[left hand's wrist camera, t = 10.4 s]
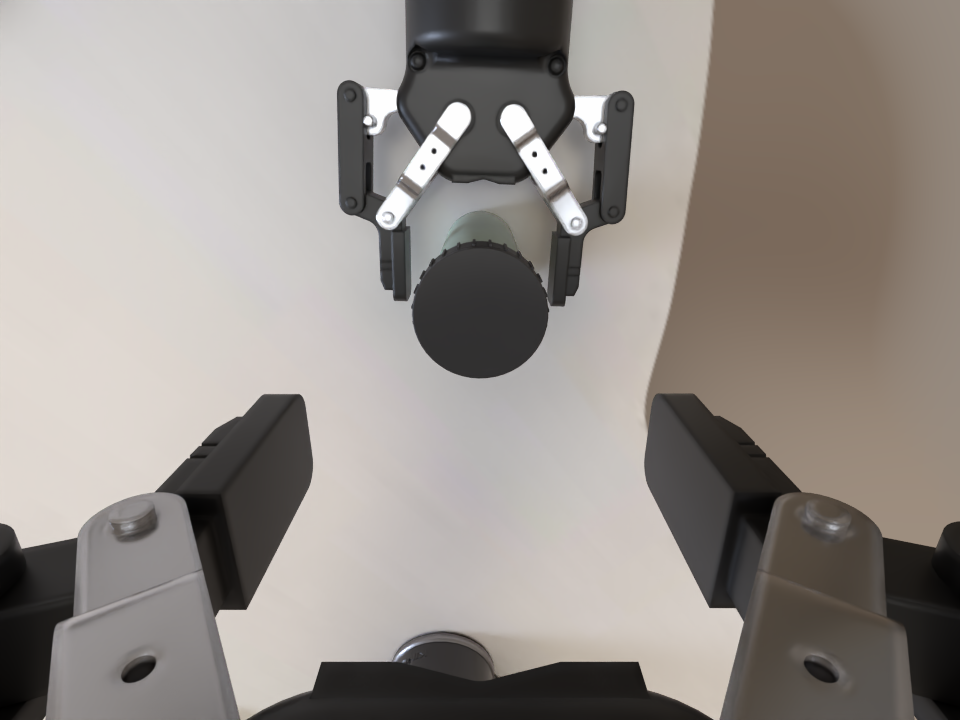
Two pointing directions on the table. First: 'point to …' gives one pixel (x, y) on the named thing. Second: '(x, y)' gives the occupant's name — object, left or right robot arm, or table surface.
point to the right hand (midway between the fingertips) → (479, 300)
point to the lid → (480, 309)
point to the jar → (480, 230)
